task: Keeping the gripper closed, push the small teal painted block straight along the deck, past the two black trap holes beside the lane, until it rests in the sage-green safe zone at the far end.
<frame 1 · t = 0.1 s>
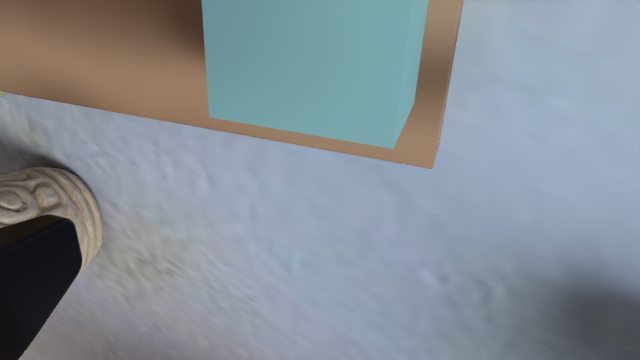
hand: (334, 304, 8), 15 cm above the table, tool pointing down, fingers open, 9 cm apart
carving: (67, 204, 31), on the table
block: (337, 21, 19), point 2 cm above the table, touching deck
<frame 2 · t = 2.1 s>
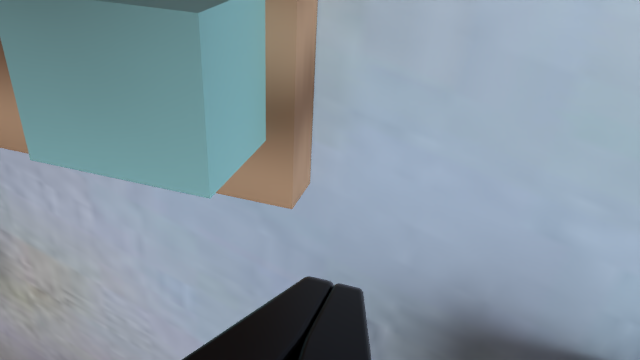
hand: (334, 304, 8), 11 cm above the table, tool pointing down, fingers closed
block: (180, 56, 18), point 2 cm above the table, touching deck
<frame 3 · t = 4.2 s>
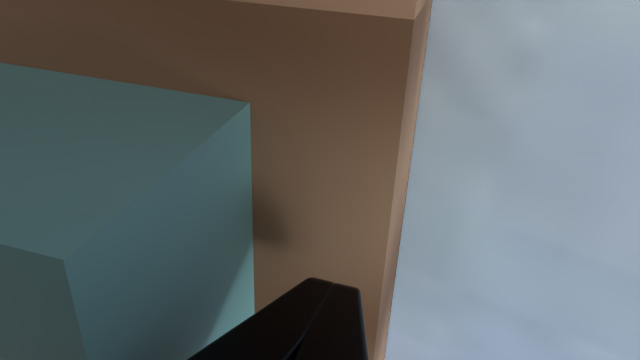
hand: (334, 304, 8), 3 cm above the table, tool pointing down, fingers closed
block: (102, 205, 10), point 2 cm above the table, touching gripper
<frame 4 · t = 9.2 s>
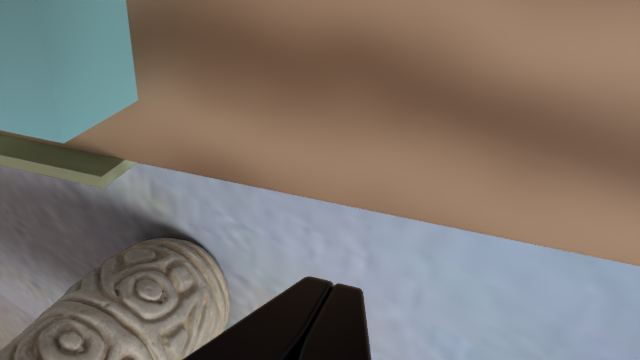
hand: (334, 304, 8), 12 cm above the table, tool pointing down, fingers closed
carving: (184, 275, 27), on the table
block: (58, 22, 20), point 2 cm above the table, touching deck
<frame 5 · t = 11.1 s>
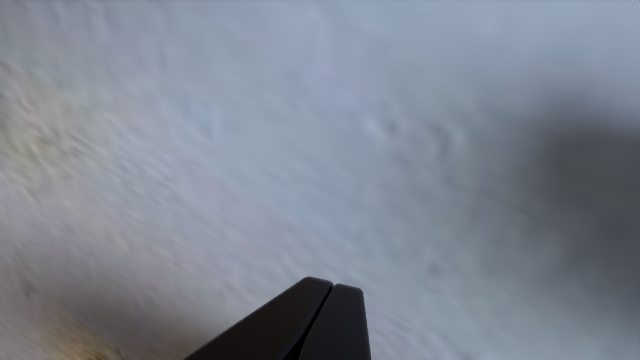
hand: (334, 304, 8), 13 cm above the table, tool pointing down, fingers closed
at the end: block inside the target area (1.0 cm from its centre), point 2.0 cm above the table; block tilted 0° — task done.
